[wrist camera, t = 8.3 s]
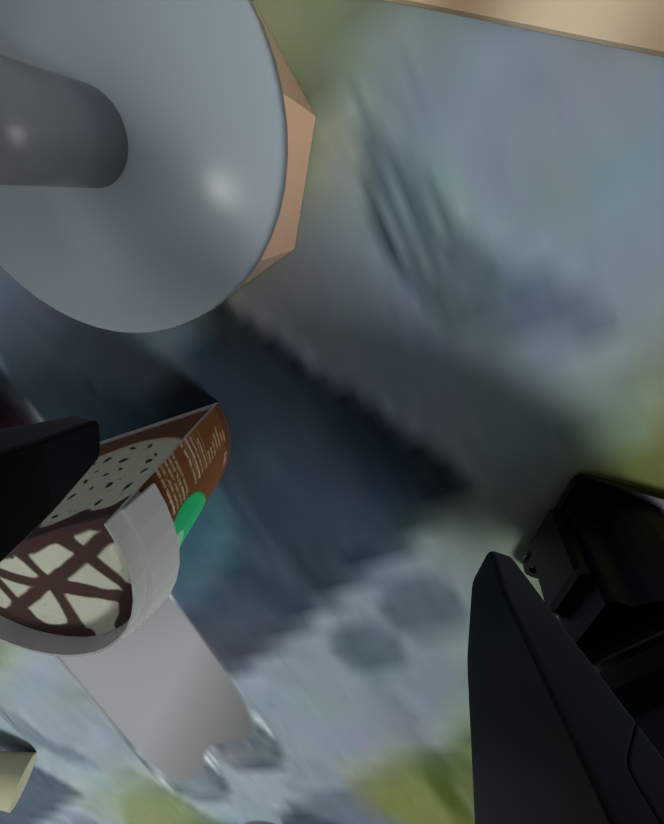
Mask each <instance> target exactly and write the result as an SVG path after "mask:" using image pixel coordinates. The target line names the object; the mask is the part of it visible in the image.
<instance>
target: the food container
mask: <svg viewBox="0 0 664 824" xmlns="http://www.w3.org/2000/svg"><path fill="white" fill-rule="evenodd" d="M230 452H231V439H230V432H229V427H228V423H227V420H226V417H225V414H224V412H223V410H222V408H221V405H220V403H219V402H217V403H214V404H211V405H208V406H205V407H202V408H199V409H196V410H193V411H190V412H187V413H184V414H181V415H178V416H175V417H172V418H169V419H166V420H163V421H160V422H157V423H154V424H151V425H148V426H145V427H142V428H139V429H136V430H133V431H130V432H127V433H124V434H121V435H118V436H115V437H112V438H109V439H106V440H103V441H100V454H99V457H98V459H97V460H96V462H95V463H94V464H93V465H92V467H91V468H90V469H89V470H88V471H87V472H86V474H85V475H84V476H83V477H82V478H81V479H80V481H79V482H78V483H77V484H76V485H75V487H74V488H73V489H72V490H71V491H70V492H69V494H68V495H67V496H66V497H65V498H64V499H63V501H62V502H61V503H60V504H59V505H58V506H57V507H56V508H55V510H54V511H53V512H52V513H51V514H50V515H49V516H48V517H47V518H46V519H45V520H44V521H43V522H42V523H41V524H40V525H39V526H38V527H37V528H35V529H34V530H33V531H32V532H31V533H30V534H29V535H28V536H27V537H26V538H25V539H24V540H23V541H22V542H21V543H20V544H19V545H18V546H17V547H16V548H15V549H14V550H13V551H12V552H11V553H10V554H8V555H7V556H6V557H5V558H4V559H3V560H2V561H1V562H0V641H3V642H5V643H7V644H10V645H12V646H16V647H19V648H22V649H25V650H28V651H32V652H36V653H41V654H45V655H53V656H62V657H72V656H73V657H74V656H85V655H90V654H95V653H98V652H100V651H103V650H105V649H107V648H109V647H111V646H112V645H113V644H115V643H116V642H118V641H119V640H121V639H123V638H125V637H126V636H128V635H129V634H131V633H132V632H133V631H135V630H136V629H137V628H138V627H139V626H140V625H141V624H142V623H143V622H144V621H145V620H146V619H147V618H148V617H149V616H150V615H151V614H152V613H153V612H154V611H155V610H156V609H158V608H159V607H160V606H161V605H162V603H163V602H164V601H165V600H166V598H167V597H168V596H169V595H170V593H171V591H172V589H173V587H174V584H175V582H176V580H177V575H178V569H179V564H180V563H179V548H180V546H181V544H182V543H183V541H184V539H185V537H186V536H187V534H188V532H189V531H190V529H191V527H192V526H193V524H194V522H195V521H196V519H197V517H198V516H199V514H200V512H201V511H202V509H203V507H204V506H205V504H206V502H207V501H208V499H209V497H210V496H211V494H212V492H213V490H214V489H215V487H216V485H217V484H218V482H219V480H220V479H221V477H222V475H223V474H224V472H225V470H226V467H227V465H228V462H229V457H230Z"/></svg>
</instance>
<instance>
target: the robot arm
mask: <svg viewBox="0 0 664 824" xmlns="http://www.w3.org/2000/svg"><path fill="white" fill-rule="evenodd" d="M99 454H100V435H99V425H98V423H97V422H96V421H95V420H92V419H89V418H86V417H83V416H74V417H68V418H62V419H56V420H51V421H45V422H39V423H34V424H28V425H22V426H17V427H11V428H5V429H0V562H1V561H2V560H3V559H4V558H5V557H6V556H7V555H8V554H10V553H11V552H12V551H13V550H14V549H15V548H16V547H17V546H18V545H19V544H20V543H21V542H22V541H23V540H24V539H25V538H26V537H27V536H28V535H29V534H30V533H31V532H32V531H33V530H34V529H35V528H37V527H38V526H39V525H40V524H41V523H42V522H43V521H44V520H45V519H46V518H47V517H48V516H49V515H50V514H51V513H52V512H53V511H54V510H55V508H56V507H57V506H58V505H59V504H60V503H61V502H62V501H63V499H64V498H65V497H66V496H67V495H68V494H69V492H70V491H71V490H72V489H73V488H74V487H75V485H76V484H77V483H78V482H79V481H80V479H81V478H82V477H83V476H84V475H85V474H86V472H87V471H88V470H89V469H90V468H91V467H92V465H93V464H94V463H95V462H96V460H97V459H98V457H99ZM583 483H589V484H588V485H587V486H585V487H580V485H581V484H583ZM529 547H530V551H529V552H528V554H527V556H526V557H525V559H524V561H523V568H524V571H525V573H526V574H527V575H529V576H531V577H534V578H538V579H539V583H540V586H541V590H542V593H543V597H544V600H543V599H542V598H541V596H540V595H539V594H538V592H537V591H536V590H535V588H534V587H533V586H532V584H531V583H530V582H529V580H528V579H527V578H526V576H525V575H524V574H523V572H522V571H521V570H520V568H519V567H518V566H517V564H516V563H515V562H514V560H513V559H512V558H511V557H509V556H507V555H504V554H501V553H497V552H494V551H492V552H489V553H488V554H487V556H486V558H485V560H484V561H483V563H482V565H481V567H480V569H479V571H478V573H477V574H476V576H475V579H474V582H473V586H472V597H471V612H470V627H469V642H468V686H469V707H470V728H471V749H472V770H473V791H474V811H475V824H664V496H663V495H659V494H656V493H652V492H649V491H645V490H642V489H639V488H635V487H632V486H628V485H625V484H621V483H618V482H614V481H611V480H607V479H604V478H600V477H597V476H593V475H590V474H584V473H583V474H578V475H576V476H575V477H574V478H573V479H572V480H571V482H570V484H569V485H568V487H567V489H566V490H565V492H564V494H563V495H562V497H561V499H560V500H559V502H558V504H557V505H556V507H555V508H553V509H551V510H550V511H549V512H548V514H547V516H546V518H545V519H544V521H543V523H542V524H541V526H540V528H539V529H538V531H537V533H536V534H535V536H534V538H533V540H532V541H531V543H530V545H529ZM531 566H535V567H534V568H532V567H531ZM544 601H545V602H544ZM555 615H556V616H557V617H558V619H557V617H556V616H555Z"/></svg>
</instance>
